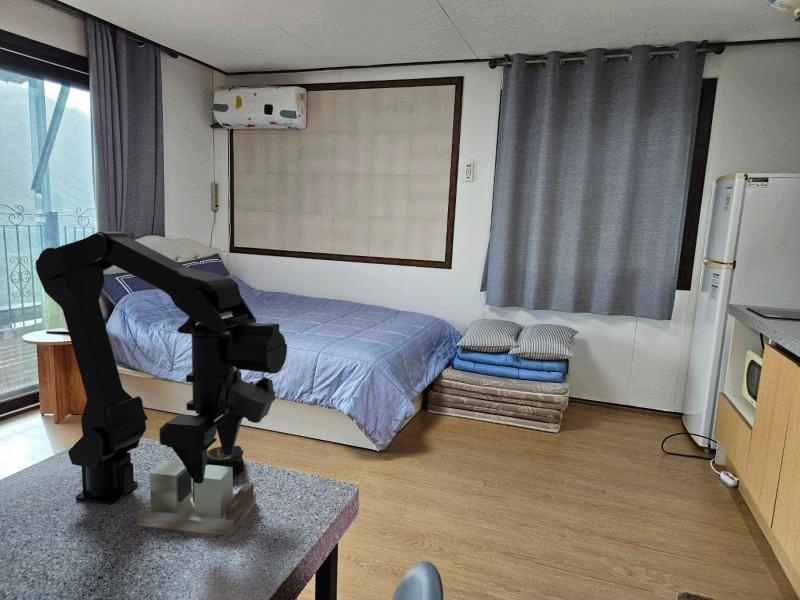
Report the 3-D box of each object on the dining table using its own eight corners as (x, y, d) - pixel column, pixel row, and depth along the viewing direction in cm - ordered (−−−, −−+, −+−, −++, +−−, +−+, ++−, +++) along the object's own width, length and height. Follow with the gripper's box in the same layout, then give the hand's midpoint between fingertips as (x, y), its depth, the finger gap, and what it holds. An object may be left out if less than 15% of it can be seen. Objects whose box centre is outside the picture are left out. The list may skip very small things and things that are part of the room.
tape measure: (244, 479, 91) (244, 458, 90) (201, 483, 88) (201, 462, 88) (243, 462, 97) (243, 442, 96) (203, 465, 95) (203, 446, 94)
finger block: (220, 518, 77) (220, 479, 76) (191, 515, 77) (190, 476, 76) (232, 504, 81) (232, 467, 80) (204, 501, 81) (204, 464, 80)
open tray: (137, 525, 76) (136, 480, 75) (171, 494, 84) (171, 453, 83) (230, 536, 74) (230, 490, 73) (255, 503, 83) (256, 462, 82)
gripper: (239, 389, 65) (240, 506, 68) (289, 353, 84) (288, 447, 86) (155, 382, 67) (158, 497, 69) (222, 349, 85) (223, 441, 87)
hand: (214, 468), depth 78 cm, fingers open, 9 cm apart
